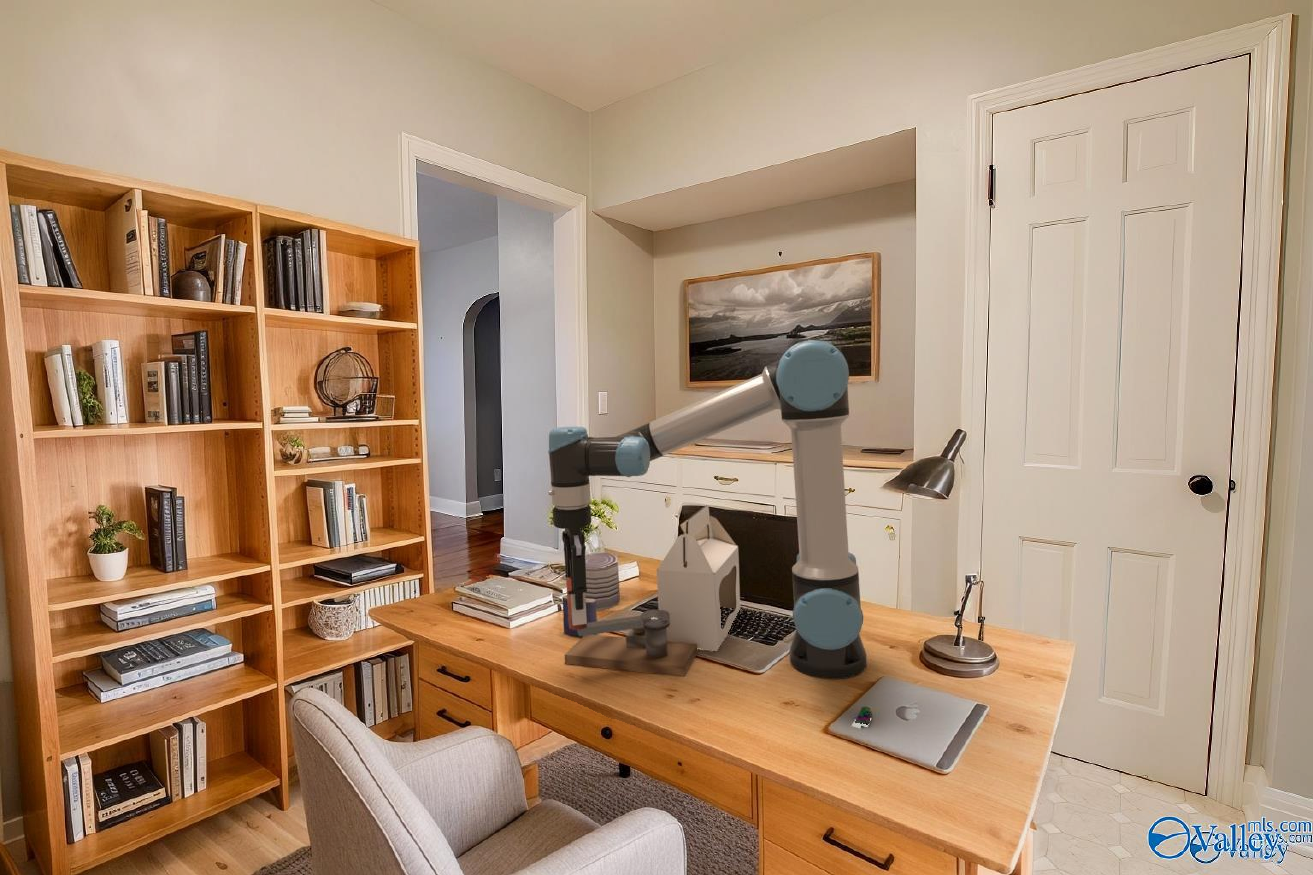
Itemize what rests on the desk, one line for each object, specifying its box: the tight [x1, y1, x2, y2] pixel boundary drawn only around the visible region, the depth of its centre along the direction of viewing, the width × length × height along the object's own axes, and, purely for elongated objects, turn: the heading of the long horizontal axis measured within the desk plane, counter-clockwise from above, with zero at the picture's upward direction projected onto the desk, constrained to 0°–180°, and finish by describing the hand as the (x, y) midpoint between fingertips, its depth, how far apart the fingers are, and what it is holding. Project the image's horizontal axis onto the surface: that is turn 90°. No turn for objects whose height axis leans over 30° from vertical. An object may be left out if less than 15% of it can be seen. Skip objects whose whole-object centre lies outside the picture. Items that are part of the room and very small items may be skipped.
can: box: [585, 551, 621, 611], centre depth 173 cm, size 11×11×12 cm
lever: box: [565, 576, 670, 636], centre depth 133 cm, size 21×6×12 cm, turn 104°
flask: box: [561, 594, 599, 639], centre depth 152 cm, size 9×3×11 cm, turn 61°
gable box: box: [656, 505, 741, 651], centre depth 151 cm, size 22×13×28 cm, turn 160°
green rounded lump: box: [855, 706, 873, 725], centre depth 111 cm, size 4×3×2 cm
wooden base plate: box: [564, 628, 698, 677], centre depth 139 cm, size 26×11×8 cm, turn 72°
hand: (577, 619), depth 131 cm, fingers closed on lever, 4 cm apart
